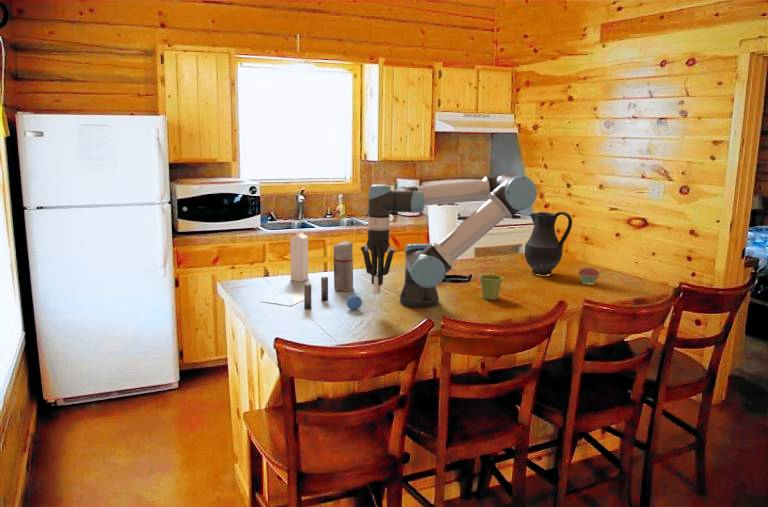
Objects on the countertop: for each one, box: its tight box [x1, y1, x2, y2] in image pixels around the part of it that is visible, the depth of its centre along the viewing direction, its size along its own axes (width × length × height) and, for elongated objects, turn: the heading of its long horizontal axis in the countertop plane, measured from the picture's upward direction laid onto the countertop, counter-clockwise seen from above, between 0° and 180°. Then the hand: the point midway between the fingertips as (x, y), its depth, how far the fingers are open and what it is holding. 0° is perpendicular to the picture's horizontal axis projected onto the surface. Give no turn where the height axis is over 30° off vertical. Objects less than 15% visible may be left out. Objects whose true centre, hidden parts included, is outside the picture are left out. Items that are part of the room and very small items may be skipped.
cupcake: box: [578, 258, 600, 284], centre depth 270 cm, size 9×8×12 cm
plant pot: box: [478, 274, 504, 301], centre depth 245 cm, size 9×9×9 cm
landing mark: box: [281, 294, 304, 306], centre depth 239 cm, size 14×14×1 cm
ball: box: [346, 294, 362, 311], centre depth 226 cm, size 6×6×6 cm
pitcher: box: [524, 211, 573, 275], centre depth 284 cm, size 17×21×30 cm
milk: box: [289, 228, 309, 282], centre depth 268 cm, size 6×6×22 cm
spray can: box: [333, 240, 354, 292], centre depth 253 cm, size 8×8×20 cm
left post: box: [303, 283, 312, 310], centre depth 227 cm, size 3×3×9 cm
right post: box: [320, 276, 329, 302], centre depth 238 cm, size 3×3×9 cm
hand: (376, 293), depth 222 cm, fingers closed
